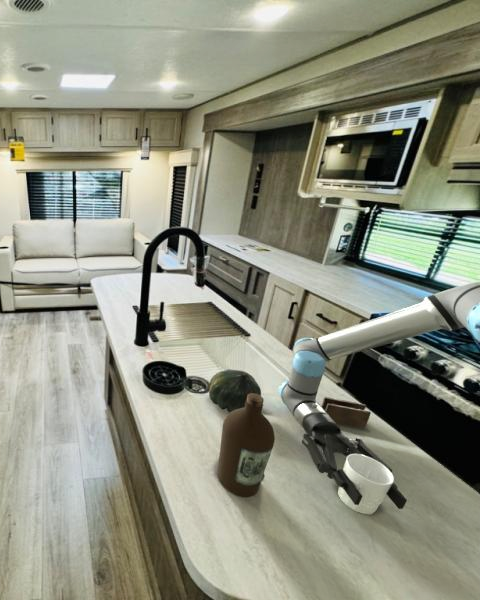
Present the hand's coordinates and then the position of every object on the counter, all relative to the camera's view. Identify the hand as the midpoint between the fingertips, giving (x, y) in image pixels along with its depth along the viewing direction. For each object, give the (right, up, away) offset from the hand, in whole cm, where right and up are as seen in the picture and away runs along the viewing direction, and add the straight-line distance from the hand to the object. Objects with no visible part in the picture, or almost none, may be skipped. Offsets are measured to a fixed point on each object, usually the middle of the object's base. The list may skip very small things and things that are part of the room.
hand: (380, 502), depth 65 cm
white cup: (+1, -4, +7) cm, 8 cm away
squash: (-13, +7, +37) cm, 40 cm away
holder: (+16, +5, +29) cm, 33 cm away
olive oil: (-24, -2, +12) cm, 27 cm away
